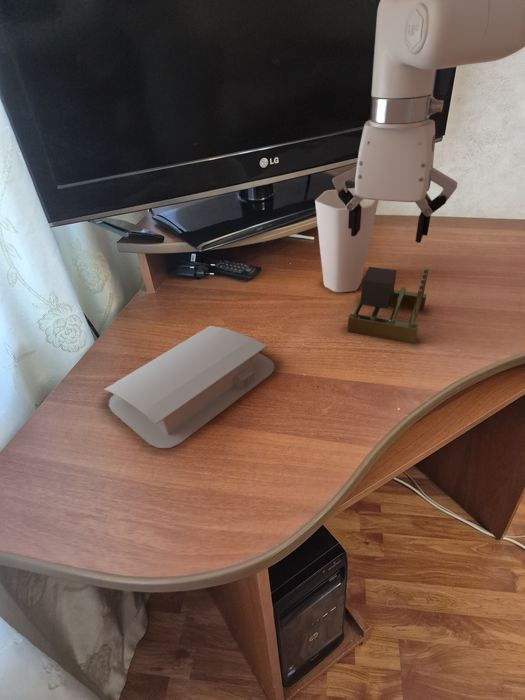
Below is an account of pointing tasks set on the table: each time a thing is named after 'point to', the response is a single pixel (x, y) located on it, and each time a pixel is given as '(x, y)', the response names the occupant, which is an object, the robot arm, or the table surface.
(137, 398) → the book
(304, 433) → the table surface
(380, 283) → the box
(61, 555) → the table surface
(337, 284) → the cup
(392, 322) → the rack
